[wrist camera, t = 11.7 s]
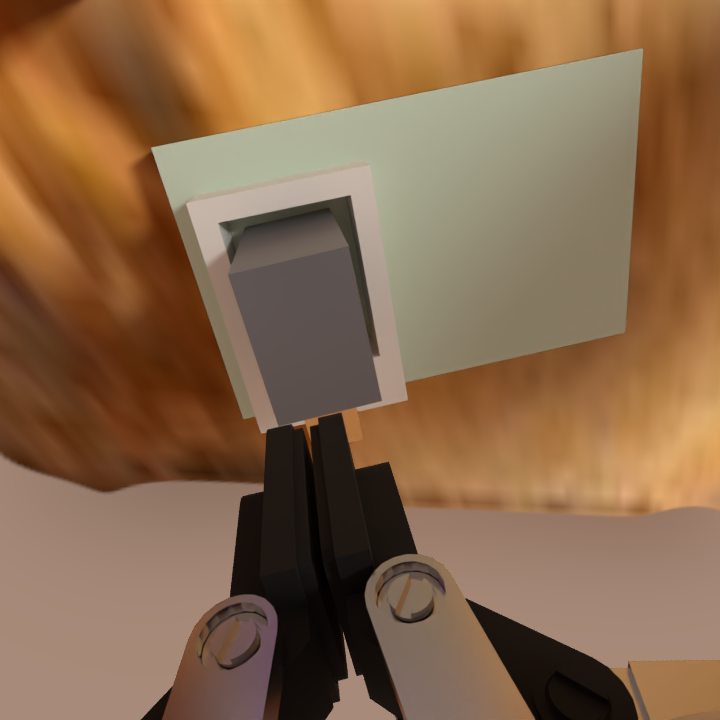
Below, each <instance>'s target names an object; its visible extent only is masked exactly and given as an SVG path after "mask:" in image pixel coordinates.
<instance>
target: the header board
mask: <svg viewBox="0 0 720 720" xmlns="http://www.w3.org/2000/svg"><path fill="white" fill-rule="evenodd" d="M642 60H643V48H641V49H636V50H630V51H625V52H620V53H616V54H611V55H606V56H601V57H596V58H591V59H586V60H581V61H576V62H571V63H566V64H561V65H556V66H551V67H546V68H542V69H537V70H532V71H527V72H522V73H517V74H512V75H507V76H502V77H497V78H492V79H487V80H482V81H477V82H472V83H468V84H463V85H458V86H453V87H448V88H443V89H438V90H433V91H428V92H423V93H418V94H413V95H408V96H403V97H399V98H394V99H389V100H384V101H379V102H374V103H369V104H364V105H359V106H354V107H349V108H344V109H339V110H334V111H329V112H325V113H320V114H315V115H310V116H305V117H300V118H295V119H290V120H285V121H280V122H275V123H270V124H265V125H260V126H255V127H251V128H246V129H241V130H236V131H231V132H226V133H221V134H216V135H211V136H206V137H201V138H196V139H191V140H186V141H181V142H177V143H172V144H167V145H162V146H157V147H152V148H151V149H152V152H153V155H154V158H155V161H156V164H157V167H158V170H159V173H160V176H161V179H162V181H163V184H164V187H165V190H166V193H167V196H168V199H169V202H170V205H171V208H172V211H173V214H174V217H175V220H176V223H177V226H178V229H179V231H180V234H181V237H182V240H183V243H184V246H185V249H186V252H187V255H188V258H189V261H190V264H191V267H192V270H193V273H194V276H195V278H196V281H197V284H198V287H199V290H200V293H201V296H202V299H203V302H204V305H205V308H206V311H207V314H208V317H209V320H210V323H211V326H212V328H213V331H214V334H215V337H216V340H217V343H218V346H219V349H220V352H221V355H222V358H223V361H224V364H225V367H226V370H227V373H228V375H229V378H230V381H231V384H232V387H233V390H234V393H235V396H236V399H237V402H238V405H239V408H240V411H241V414H242V417H243V419H247V418H251V417H256V420H257V423H258V426H259V429H260V432H261V434H263V433H267V430H268V429H272V428H276V427H278V424H277V421H276V418H275V415H274V412H273V409H272V406H271V403H270V400H269V397H268V394H267V391H266V388H265V385H264V382H263V379H262V376H261V373H260V370H259V367H258V364H257V361H256V358H255V355H254V352H253V349H252V346H251V343H250V340H249V337H248V334H247V331H246V328H245V325H244V322H243V319H242V316H241V313H240V310H239V307H238V304H237V301H236V298H235V295H234V292H233V289H232V286H231V283H230V280H229V277H228V273H229V270H230V268H231V265H232V262H233V259H234V257H235V254H236V251H237V248H238V246H239V243H240V240H241V238H242V235H243V232H244V229H245V227H248V226H252V225H257V224H261V223H265V222H269V221H274V220H278V219H282V218H286V217H291V216H295V215H299V214H303V213H308V212H312V211H316V210H320V209H325V208H330V210H331V212H332V214H333V216H334V218H335V220H336V222H337V224H338V226H339V228H340V230H341V232H342V234H343V236H344V238H345V240H346V242H347V244H348V245H349V249H350V254H351V259H352V263H353V268H354V273H355V277H356V282H357V287H358V291H359V296H360V301H361V305H362V310H363V315H364V319H365V324H366V329H367V333H368V338H369V343H370V347H371V352H372V357H373V361H374V366H375V370H376V375H377V380H378V384H379V389H380V394H381V398H382V401H380V402H376V403H372V404H368V405H364V406H360V407H356V408H357V412H359V411H363V410H368V409H372V408H377V407H381V406H385V405H390V404H394V403H398V402H403V401H407V400H408V397H407V391H406V385H405V383H406V382H410V381H414V380H419V379H423V378H428V377H432V376H436V375H441V374H445V373H450V372H454V371H459V370H463V369H467V368H472V367H476V366H481V365H485V364H489V363H494V362H498V361H503V360H507V359H511V358H516V357H520V356H525V355H529V354H534V353H538V352H542V351H547V350H551V349H556V348H560V347H564V346H569V345H573V344H578V343H582V342H586V341H591V340H595V339H600V338H604V337H608V336H613V335H617V334H622V333H625V331H626V315H627V299H628V283H629V267H630V251H631V235H632V219H633V203H634V187H635V171H636V155H637V140H638V124H639V108H640V92H641V76H642ZM291 424H292V425H293V426H298V425H302V424H306V423H305V420H303V421H299V422H295V423H291ZM287 425H289V424H287ZM283 426H284V425H283ZM279 427H280V426H279Z"/></svg>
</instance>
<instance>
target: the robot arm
mask: <svg viewBox="0 0 720 720" xmlns="http://www.w3.org/2000/svg"><path fill="white" fill-rule="evenodd" d="M310 436H311V447H312V458H313V462H312V459H311V455H310V452H309V448H308V444H307V441H306V437H305V434H304V431H303V428H300V429H296V430H294V428H293V425H292V424H289V425H284V426H280V427H276V428H272V429H268V430H267V434H266V454H265V475H264V491H263V492H259V493H255V494H251V495H247V496H243V497H242V498H241V502H240V510H239V518H238V527H237V537H236V546H235V556H234V564H233V573H232V582H231V591H230V598H228V599H226V600H224V601H222V602H220V603H218V604H216V605H215V606H214V607H213V608H211V609H210V610H209V611H208V612H206V613H205V614H204V615H203V617H202V618H201V619H200V620H199V622H198V623H197V624H196V625H195V627H194V629H193V631H192V633H191V635H190V637H189V639H188V642H187V645H186V648H185V651H184V654H183V657H182V660H181V663H180V666H179V670H178V672H177V675H176V678H175V681H174V684H173V686H172V687H171V688H170V690H169V691H168V692H167V693H166V694H165V695H164V696H163V697H162V698H161V699H160V700H159V701H158V702H157V703H156V704H155V705H154V706H153V707H152V709H151V710H150V711H149V712H148V713H147V714H146V715H145V716H144V717H143V718H142V719H141V720H325V719H326V718H327V717H328V715H329V713H330V712H331V711H332V709H333V703H335V702H338V701H340V696H339V688H338V687H339V686H338V681H339V680H343V679H347V678H348V670H347V663H346V653H345V645H344V637H343V632H344V636H345V639H346V642H347V646H348V649H349V652H350V656H351V659H352V662H353V666H354V669H355V672H356V675H357V676H359V675H363V676H364V680H365V683H366V686H367V690H368V693H369V696H370V699H372V700H373V701H375V702H376V703H377V704H379V705H380V706H382V707H383V708H385V709H386V710H388V711H389V712H391V713H392V714H394V715H395V718H396V720H720V660H682V661H681V660H679V661H678V660H677V661H628V668H608V667H607V666H605V665H604V664H602V663H600V662H599V661H597V660H596V659H594V658H592V657H590V656H588V655H586V654H584V653H581V652H579V651H577V650H575V649H573V648H571V647H569V646H567V645H564V644H562V643H560V642H558V641H556V640H554V639H552V638H549V637H547V636H545V635H543V634H541V633H539V632H537V631H535V630H532V629H530V628H528V627H526V626H524V625H522V624H520V623H517V622H515V621H513V620H511V619H509V618H507V617H505V616H502V615H500V614H498V613H496V612H494V611H492V610H490V609H488V608H485V607H483V606H481V605H479V604H477V603H474V602H473V601H470V600H468V599H466V598H465V597H464V596H463V594H462V593H461V591H460V589H459V587H458V586H457V584H456V582H455V580H454V579H453V577H452V575H451V574H450V572H449V571H448V570H447V569H446V568H445V566H444V565H443V564H441V563H440V562H438V561H436V560H435V559H433V558H431V557H427V556H424V555H420V554H418V553H417V550H416V547H415V544H414V540H413V538H412V534H411V531H410V528H409V525H408V521H407V518H406V515H405V512H404V508H403V505H402V502H401V499H400V496H399V493H398V489H397V486H396V483H395V480H394V477H393V473H392V470H391V467H390V464H389V462H386V463H381V464H377V465H373V466H369V467H365V468H360V469H356V470H355V467H354V463H353V459H352V454H351V450H350V446H349V442H348V437H347V433H346V429H345V424H344V420H343V416H342V412H341V413H336V414H332V415H328V416H323V417H319V418H318V425H313V426H310Z"/></svg>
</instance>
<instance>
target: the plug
mask: <svg viewBox="0 0 720 720" xmlns="http://www.w3.org/2000/svg"><path fill="white" fill-rule="evenodd" d="M228 277H229V280H230V283H231V286H232V289H233V292H234V295H235V298H236V301H237V304H238V307H239V310H240V313H241V316H242V319H243V322H244V325H245V328H246V331H247V334H248V337H249V340H250V343H251V346H252V349H253V352H254V355H255V358H256V361H257V364H258V367H259V370H260V373H261V376H262V379H263V382H264V385H265V388H266V391H267V394H268V397H269V400H270V403H271V406H272V409H273V412H274V415H275V418H276V421H277V424H278V427H279V426H283V425H287V424H291V423H295V422H299V421H303V420H305V423H306V427H307V430H308V433H309V437H310V440H311V436H310V426H313V425H318V418H319V417H323V416H328V415H332V414H336V413H341V412H342V416H343V420H344V424H345V429H346V433H347V437H348V442H349V443H351V442H355V441H359V440H363V439H364V437H363V433H362V429H361V425H360V421H359V416H358V412H357V408H356V407H360V406H364V405H368V404H372V403H376V402H380V401H382V398H381V394H380V389H379V384H378V380H377V375H376V370H375V366H374V361H373V357H372V352H371V347H370V343H369V338H368V333H367V329H366V324H365V319H364V315H363V310H362V305H361V301H360V296H359V291H358V287H357V282H356V277H355V273H354V268H353V263H352V259H351V254H350V249H349V245H348V244H347V242H346V240H345V238H344V236H343V234H342V232H341V230H340V228H339V226H338V224H337V222H336V220H335V218H334V216H333V214H332V212H331V210H330V208H325V209H320V210H316V211H312V212H308V213H303V214H299V215H295V216H291V217H286V218H282V219H278V220H274V221H269V222H265V223H261V224H257V225H252V226H248V227H245V229H244V232H243V235H242V238H241V240H240V243H239V246H238V248H237V251H236V254H235V257H234V259H233V262H232V265H231V268H230V270H229V273H228Z"/></svg>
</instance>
